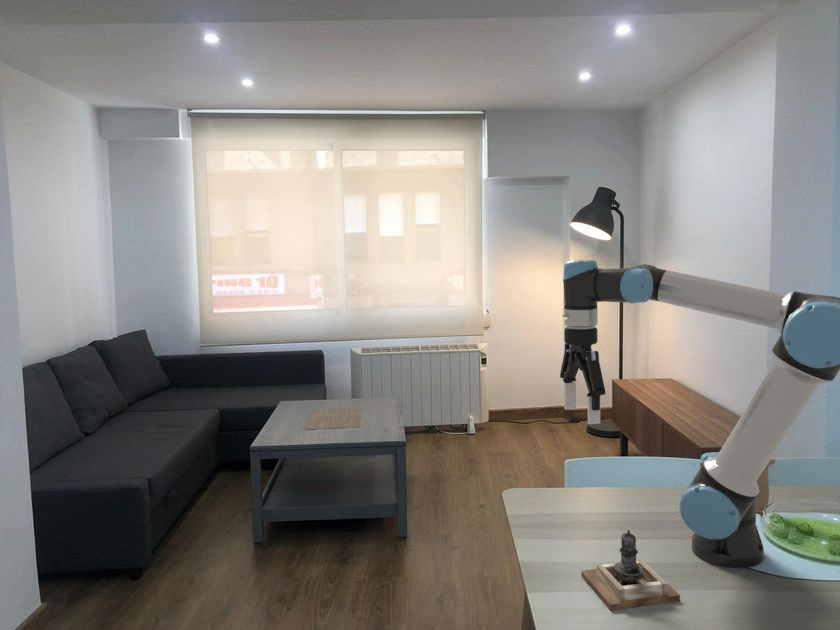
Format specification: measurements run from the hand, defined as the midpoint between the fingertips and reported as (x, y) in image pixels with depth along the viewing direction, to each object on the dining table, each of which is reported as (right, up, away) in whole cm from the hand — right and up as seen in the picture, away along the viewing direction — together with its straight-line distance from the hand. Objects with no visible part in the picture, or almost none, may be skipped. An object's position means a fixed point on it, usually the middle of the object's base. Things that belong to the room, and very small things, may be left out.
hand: (581, 416), depth 157 cm
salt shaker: (+6, -33, -18) cm, 38 cm away
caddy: (+6, -34, -17) cm, 38 cm away
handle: (+51, -28, +18) cm, 61 cm away
